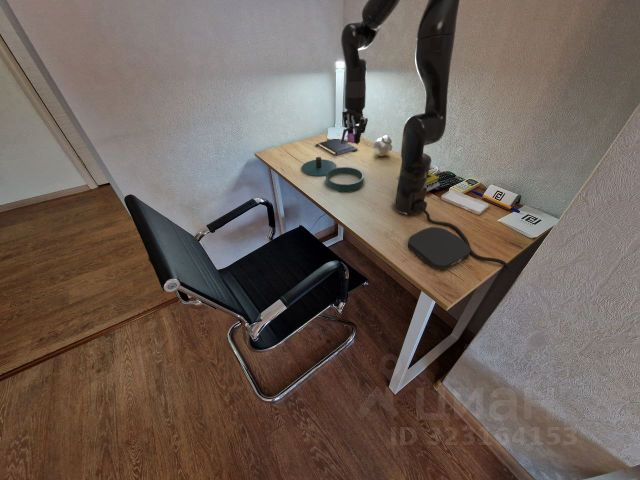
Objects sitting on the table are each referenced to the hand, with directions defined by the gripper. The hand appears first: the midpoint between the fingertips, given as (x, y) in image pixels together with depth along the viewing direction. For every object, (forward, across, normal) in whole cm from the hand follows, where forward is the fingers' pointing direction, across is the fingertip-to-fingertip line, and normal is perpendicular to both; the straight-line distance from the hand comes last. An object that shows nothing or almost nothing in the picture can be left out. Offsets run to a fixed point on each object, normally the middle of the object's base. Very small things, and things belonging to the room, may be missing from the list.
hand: (353, 141), depth 106 cm
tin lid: (+16, -17, -7) cm, 25 cm away
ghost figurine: (+17, -12, +26) cm, 34 cm away
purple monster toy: (+1, 0, 0) cm, 1 cm away
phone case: (+17, +39, +24) cm, 49 cm away
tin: (+17, +1, -5) cm, 18 cm away
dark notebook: (+17, -34, +13) cm, 40 cm away
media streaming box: (+18, +52, -4) cm, 55 cm away
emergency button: (+17, +18, +22) cm, 33 cm away
